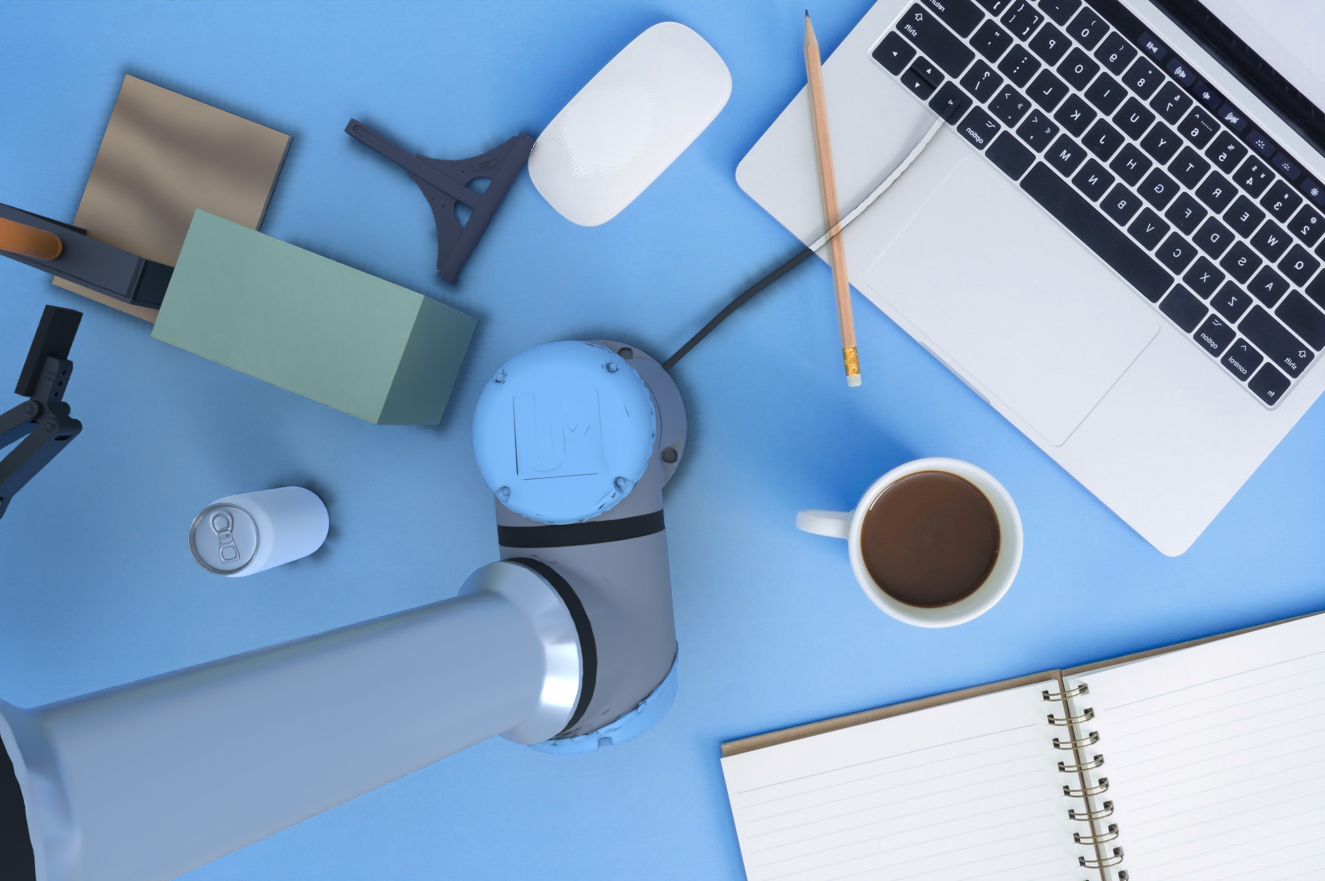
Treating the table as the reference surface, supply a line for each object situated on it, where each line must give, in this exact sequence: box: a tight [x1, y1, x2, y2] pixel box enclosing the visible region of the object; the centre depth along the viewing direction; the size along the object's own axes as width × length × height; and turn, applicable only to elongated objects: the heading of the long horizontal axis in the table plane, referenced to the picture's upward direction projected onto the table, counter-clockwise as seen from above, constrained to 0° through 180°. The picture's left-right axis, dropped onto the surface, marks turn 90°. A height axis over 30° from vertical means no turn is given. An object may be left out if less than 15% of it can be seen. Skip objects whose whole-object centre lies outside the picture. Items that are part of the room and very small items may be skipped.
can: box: [187, 485, 330, 578], centre depth 73 cm, size 6×6×12 cm
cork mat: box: [51, 73, 293, 325], centre depth 79 cm, size 20×16×1 cm
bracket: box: [344, 117, 537, 285], centre depth 77 cm, size 14×15×3 cm
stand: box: [149, 208, 479, 426], centre depth 71 cm, size 10×18×15 cm, turn 69°
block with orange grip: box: [0, 202, 175, 310], centre depth 69 cm, size 4×14×19 cm, turn 69°
